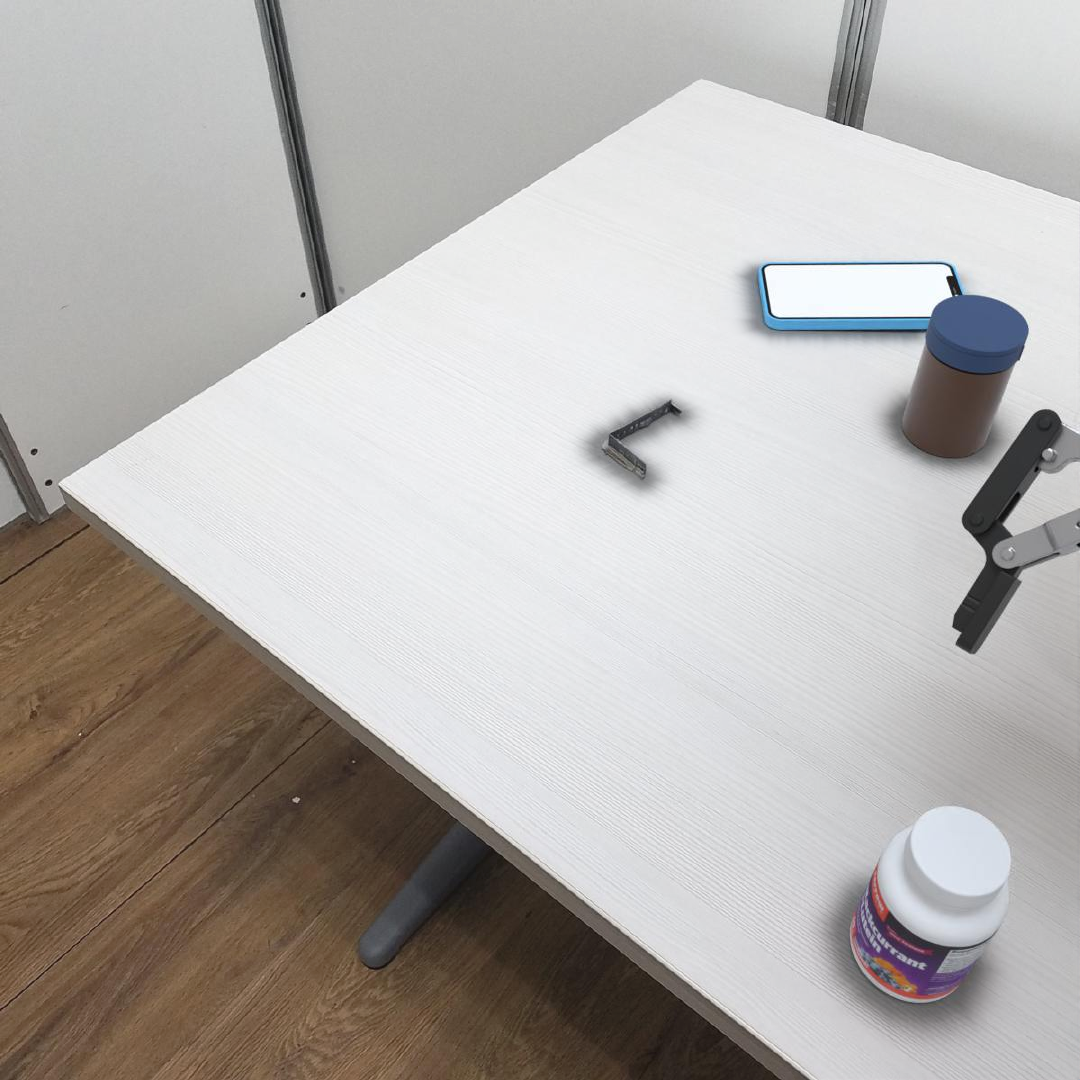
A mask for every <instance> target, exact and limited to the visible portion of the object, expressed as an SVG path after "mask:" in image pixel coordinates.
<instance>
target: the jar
mask: <svg viewBox="0 0 1080 1080" xmlns="http://www.w3.org/2000/svg"><path fill="white" fill-rule="evenodd" d="M1015 366H1016V363H1015V364H1014V365H1013V366H1012V367H1010V368H1008V369H1006V370H1003V371H1000V372H995V373H973V372H967V371H963V370H960V369H957V368H954V367H952V366H949V365H947V364H946V363H944V362H942V361H941V360H939V359H938V358H937V357H936V356H934V355H933V353H932V352H931V351H930V350H929V348H928V346H927V344H926V340H925V341H924V345H923V347H922V351H921V354H920V359H919V361H918V365H917V368H916V372H915V375H914V378H913V382H912V385H911V389H910V392H909V395H908V399H907V403H906V406H905V410H904V412H903V415H902V418H901V429H902V431H903V434H904V435H905V437H906V438H907V439H908V440H909V442H910V443H911V444H912V445H914V446H915V447H917V448H918V449H920V450H921V451H923V452H926V453H928V454H930V455H933V456H937V457H942V458H948V459H949V458H951V459H957V458H958V459H959V458H965V457H968V456H972V455H974V454H976V453H978V452H979V451H980V450H981V449H982V448H983V447H984V446H985V444H986V442H987V440H988V437H989V435H990V432H991V430H992V427H993V424H994V422H995V419H996V417H997V413H998V410H999V408H1000V406H1001V403H1002V401H1003V397H1004V395H1005V392H1006V390H1007V387H1008V384H1009V382H1010V379H1011V377H1012V375H1013V371H1014V368H1015Z"/></svg>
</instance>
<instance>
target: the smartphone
mask: <svg viewBox="0 0 1080 1080" xmlns="http://www.w3.org/2000/svg"><path fill="white" fill-rule="evenodd" d="M757 274H758V276H757V282H758V288H759V295H760V300H761V307H762V313H763V319H764V320H763V321H764V323H765V324H766V326H767V327H769V328H771V329H773V330H778V331H796V330H797V331H802V330H803V331H805V330H808V331H809V330H810V331H811V330H813V331H815V330H821V331H823V330H825V331H826V330H831V331H832V330H927V328H928V324H929V321H930V318H931V314H932V311H933V309H934V308H935V306H936V305H937V304H938V303H940V302H941V301H943V300H945V299H947V298H950V297H953V296H959V295H966V294H965V290H964V288H963V286H962V282H961V280H960V277H959V273H958V271H957V269H956V267H955V265H953V264H952V263H950V262H947V261H944V260H943V261H941V260H916V261H915V260H913V261H912V260H911V261H910V260H909V261H908V260H906V261H904V260H903V261H902V260H901V261H892V260H891V261H778V262H777V261H773V262H772V261H771V262H766V263H763V264H761V265H760V266H759V269H758V273H757Z"/></svg>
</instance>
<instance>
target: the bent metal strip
mask: <svg viewBox="0 0 1080 1080" xmlns="http://www.w3.org/2000/svg"><path fill="white" fill-rule="evenodd" d="M668 412H672V413H676V414H679V415H681V414H682V412H683V410H682V409H681V408H680V407H678V406H677V405H675V402H674V400H673V399H672V398H671V399H669V400H666V401H664V402H663V403H662V404H660V405H658V406H656V407H655V408H653V409H650V410H649V411H648V412H645V413H643V414H641V415H640V416H639V417H636V418H634V419H632V420H631V421H629V422H627V423H625V424H624V425H619V426H618V427H617V428H615V429H612V430H611V431H610V432H608V438H606V439H605V440H603V442H602V444H601V449H602V450H603V452H604V455H609V457H610V458H612V459H614V460H615V461H616V462H617V463H619V464H620V465H621V466H622V467H624V468H627V469H628V470H629V471H630V472H634V473H635V475H636V476H637V477H639V478H640V480H643V479H644V477H645V476H646V474H647V463H646V462H645V461H643V460H642V459H641V458H640V457H639V456H638V455H636V454H635V453H633V452H632V451H631V450H630V449H629V447H628V446H625V444H623V443H622V440H621V439H623V438H625V437H626V436H628V435H630V434H632V433H634V432H635V431H637V430H639V429H642V428H644V427H646V426H649V425H651V422H653V421H655V420H656V419H659V418H661V416H663V415H665V414H666V413H668Z"/></svg>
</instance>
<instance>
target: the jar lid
mask: <svg viewBox="0 0 1080 1080" xmlns="http://www.w3.org/2000/svg"><path fill="white" fill-rule="evenodd" d="M1029 333H1030V328H1029V324H1028V321H1027V320H1026V318H1025V317H1024V316H1023V314H1022V313H1021V312H1020V311H1018V310H1017V309H1016V308H1015V307H1013V306H1011V305H1010V304H1008V303H1006V302H1004V301H1002V300H999V299H996V298H993V297H989V296H985V295H977V294H965V295H959V296H953V297H950V298H947V299H945V300H943V301H941V302H940V303H938V304H937V305H936V306H935V308H934V309H933V311H932V314H931V318H930V321H929V324H928V328H927V329H926V331H925V338H924V339H925V341H926V344H927V346H928V348H929V350H930V351H931V352H932V353H933V355H934V356H936V357H937V358H938V359H939V360H941V361H942V362H944V363H946V364H947V365H949V366H952V367H954V368H957V369H960V370H963V371H967V372H973V373H995V372H1000V371H1003V370H1006V369H1008V368H1010V367H1012V366H1013V365H1014V364H1015V365H1016V363H1017V362H1020V360H1021V358H1022V356H1023V352H1024V350H1025V347H1026V345H1025V344H1026V342H1027V339H1028V337H1029Z"/></svg>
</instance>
